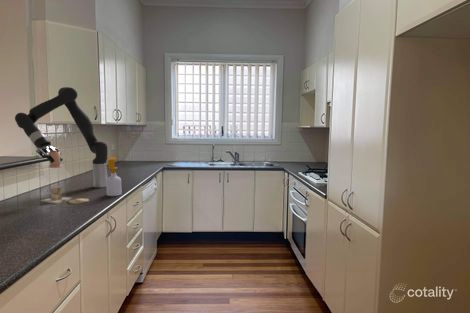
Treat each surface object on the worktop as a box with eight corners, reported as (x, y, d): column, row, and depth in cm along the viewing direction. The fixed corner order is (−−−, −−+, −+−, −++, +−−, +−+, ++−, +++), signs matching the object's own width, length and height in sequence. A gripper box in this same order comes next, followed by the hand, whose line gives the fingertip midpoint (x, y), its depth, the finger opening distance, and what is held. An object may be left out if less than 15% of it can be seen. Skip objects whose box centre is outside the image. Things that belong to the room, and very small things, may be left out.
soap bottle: (124, 193, 203) (122, 156, 200) (117, 196, 194) (116, 158, 191) (111, 193, 204) (109, 156, 201) (104, 196, 195) (102, 158, 192)
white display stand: (56, 197, 189) (55, 185, 189) (72, 199, 187) (72, 186, 186) (39, 202, 178) (39, 189, 177) (56, 203, 175) (56, 190, 174)
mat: (77, 198, 187) (77, 197, 187) (93, 199, 185) (93, 199, 185) (63, 203, 177) (63, 202, 177) (79, 204, 174) (79, 203, 174)
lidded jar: (55, 166, 184) (54, 149, 183) (64, 166, 182) (63, 150, 181) (46, 167, 178) (45, 150, 177) (55, 168, 176) (54, 150, 175)
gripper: (32, 136, 173) (50, 158, 171) (53, 135, 187) (70, 155, 185) (25, 145, 175) (43, 167, 173) (46, 144, 189) (63, 163, 187)
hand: (57, 161), depth 179 cm, fingers closed on lidded jar, 5 cm apart
